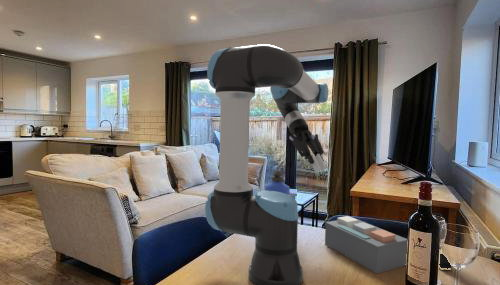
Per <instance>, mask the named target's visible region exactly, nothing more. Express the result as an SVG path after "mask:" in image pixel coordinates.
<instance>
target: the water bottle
mask: <svg viewBox="0 0 500 285" xmlns="http://www.w3.org/2000/svg"><path fill="white" fill-rule="evenodd" d="M283 181H284V176H283V173H282V172H281V171H280V170H275V171H274V172H273V173H272V176H271V182H270V183H268V184H266V185H265V186H264V191H277V192H281V193H285V194H287V195H290V188H291V187H290V186H289V185H288V184H285V183H284V182H283Z"/></svg>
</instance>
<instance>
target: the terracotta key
mask: <svg viewBox="0 0 500 285" xmlns="http://www.w3.org/2000/svg"><path fill="white" fill-rule="evenodd" d="M380 229H381V230H376V231H371V232H370V237H371V238H373V239H376V240H378V241H380V242H382V243H386V242H391V241H395V233H393V232H391V231H390V232H391V233H390V232H389V231H388V230H386V231H385V229H383V230H382V228H380ZM387 231H388V232H387ZM392 233H393V234H392Z"/></svg>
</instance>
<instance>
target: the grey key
mask: <svg viewBox="0 0 500 285" xmlns="http://www.w3.org/2000/svg"><path fill="white" fill-rule="evenodd" d="M367 223H368V222H366V221H363V222H362V223H357V224H353V230H355V231H358V232H360V233H362V234H364V235H367V236H369V237H370V232H371V231H375V230H376V227H377V226H375V225H373V224H370V223H368V224H367ZM372 225H373V226H372Z"/></svg>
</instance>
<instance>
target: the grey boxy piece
mask: <svg viewBox="0 0 500 285" xmlns="http://www.w3.org/2000/svg"><path fill="white" fill-rule="evenodd" d="M353 218H354V219H357V218H355V217H353ZM357 220H358V223H362V222H364V221H362V220H360V219H357ZM366 223H367V224H369V223H368V222H366ZM371 225H372V226H374V225H373V224H371ZM375 227H376V230H381V229H382V228H380V227H378V226H375ZM376 230H375V231H376ZM382 230H385V229H382ZM324 231H325V232H324V233H325V234H324V235H325V236H324V244H325V245H326V246H327V247H329V248H331V249H332V250H335V251H336V252H338V253H340V254H342V255H344V256H345V257H347V258H348V259H351V260H352V261H353V262H356V263H357V264H358V265H360V266H363V267H365V269H368V270H370V271H371V272H373V273H375V274H380V273H385V272H388V271H390V270H395V269H398V268H401V267H406V266H405V264H406V254H407V237H403V236H400V235H398V234H395V233H393V232H391V231H390V233H392V234H395V241H391V242H386V243H382V242H380V241H378V240H376V239H373V238H371V237H369V236H367V235H364V234H362V233H360V232H358V231H355V230H353V229H351V228H349V227H346V226H344V225H342V224H340V223H337V219H336V220H331V221H325V230H324ZM385 231H387V232H389V231H388V230H385Z"/></svg>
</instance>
